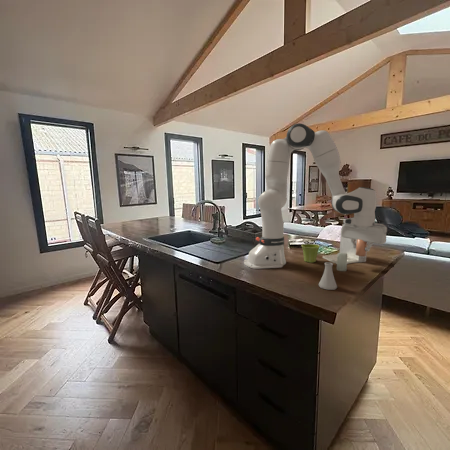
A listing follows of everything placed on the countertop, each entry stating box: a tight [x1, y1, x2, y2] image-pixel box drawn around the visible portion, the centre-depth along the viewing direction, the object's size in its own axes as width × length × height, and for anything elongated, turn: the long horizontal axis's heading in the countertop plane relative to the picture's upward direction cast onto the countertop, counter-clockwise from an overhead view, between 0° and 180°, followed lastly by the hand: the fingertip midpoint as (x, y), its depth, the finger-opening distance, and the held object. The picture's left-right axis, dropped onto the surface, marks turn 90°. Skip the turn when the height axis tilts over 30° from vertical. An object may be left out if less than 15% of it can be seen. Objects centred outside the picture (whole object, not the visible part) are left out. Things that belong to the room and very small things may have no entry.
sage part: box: [336, 252, 348, 272], centre depth 124 cm, size 4×4×8 cm
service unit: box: [322, 227, 368, 265], centre depth 140 cm, size 18×14×16 cm
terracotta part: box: [356, 239, 368, 257], centre depth 125 cm, size 4×4×8 cm
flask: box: [318, 261, 338, 291], centre depth 104 cm, size 7×7×10 cm
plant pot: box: [301, 243, 320, 264], centre depth 139 cm, size 9×9×9 cm
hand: (361, 249), depth 125 cm, fingers closed on terracotta part, 4 cm apart
